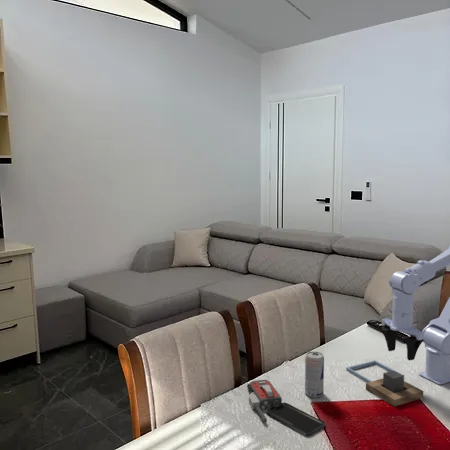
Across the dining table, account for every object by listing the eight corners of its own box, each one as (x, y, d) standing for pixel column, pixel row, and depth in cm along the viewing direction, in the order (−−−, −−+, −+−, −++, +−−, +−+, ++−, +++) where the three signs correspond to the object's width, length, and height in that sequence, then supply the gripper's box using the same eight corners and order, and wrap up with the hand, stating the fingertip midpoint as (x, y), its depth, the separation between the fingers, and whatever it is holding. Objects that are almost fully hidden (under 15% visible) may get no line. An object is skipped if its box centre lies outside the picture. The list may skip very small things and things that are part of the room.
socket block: (393, 381, 140) (393, 375, 140) (423, 397, 130) (423, 391, 130) (365, 389, 136) (365, 383, 135) (394, 406, 126) (394, 399, 125)
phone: (284, 401, 128) (327, 423, 117) (284, 405, 128) (327, 427, 117) (264, 411, 123) (307, 435, 111) (264, 415, 123) (307, 439, 112)
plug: (392, 389, 136) (393, 370, 135) (403, 395, 132) (404, 375, 131) (382, 392, 134) (383, 373, 133) (393, 398, 130) (393, 378, 130)
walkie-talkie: (240, 390, 137) (261, 426, 117) (240, 376, 136) (261, 410, 117) (268, 386, 139) (293, 421, 119) (268, 373, 138) (293, 406, 119)
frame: (374, 363, 154) (374, 360, 154) (403, 377, 143) (403, 374, 143) (346, 370, 149) (346, 367, 149) (373, 386, 138) (373, 383, 137)
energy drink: (325, 391, 135) (325, 352, 133) (321, 399, 130) (321, 359, 128) (307, 388, 137) (307, 350, 136) (302, 396, 132) (303, 356, 131)
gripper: (374, 307, 141) (373, 348, 142) (412, 320, 128) (410, 366, 129) (391, 304, 144) (390, 344, 145) (429, 317, 131) (427, 361, 132)
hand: (401, 354), depth 138 cm, fingers open, 7 cm apart
